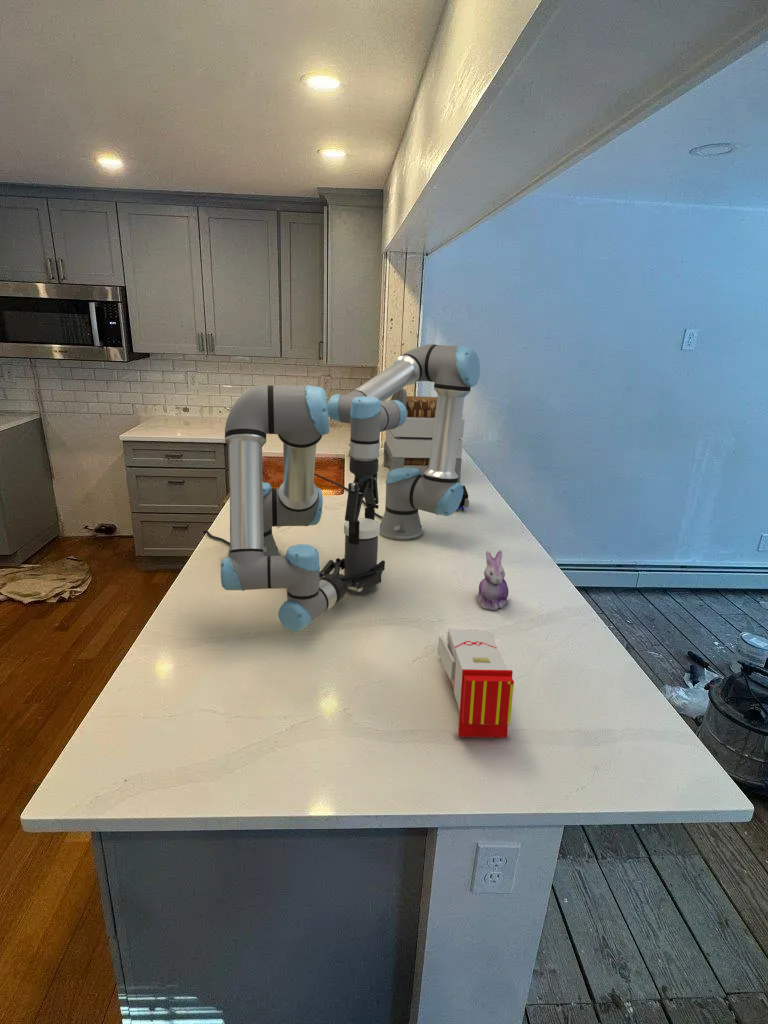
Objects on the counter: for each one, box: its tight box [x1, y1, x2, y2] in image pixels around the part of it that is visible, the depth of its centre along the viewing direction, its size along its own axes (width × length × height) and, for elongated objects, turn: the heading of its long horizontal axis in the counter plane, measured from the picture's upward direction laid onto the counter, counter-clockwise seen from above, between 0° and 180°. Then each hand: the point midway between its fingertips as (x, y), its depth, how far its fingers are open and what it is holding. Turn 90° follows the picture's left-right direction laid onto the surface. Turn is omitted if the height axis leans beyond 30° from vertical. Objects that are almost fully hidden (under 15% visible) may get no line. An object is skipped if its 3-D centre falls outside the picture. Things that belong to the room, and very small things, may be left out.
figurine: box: [477, 549, 509, 611], centre depth 153 cm, size 9×10×15 cm
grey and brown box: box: [383, 387, 465, 483], centre depth 268 cm, size 34×33×41 cm
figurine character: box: [455, 484, 470, 512], centre depth 229 cm, size 7×8×15 cm
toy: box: [437, 628, 515, 738], centre depth 117 cm, size 12×13×30 cm
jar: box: [343, 534, 379, 596], centre depth 157 cm, size 9×9×18 cm
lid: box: [343, 517, 380, 539], centre depth 154 cm, size 10×10×2 cm
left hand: (368, 561), depth 162 cm, fingers closed on jar, 9 cm apart
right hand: (361, 536), depth 155 cm, fingers closed on lid, 10 cm apart
